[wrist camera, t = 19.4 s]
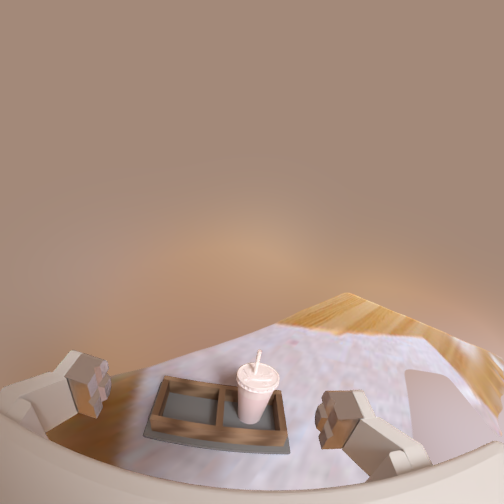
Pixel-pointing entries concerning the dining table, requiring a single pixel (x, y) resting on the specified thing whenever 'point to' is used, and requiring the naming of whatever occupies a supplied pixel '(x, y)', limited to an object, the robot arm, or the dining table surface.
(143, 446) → the dining table surface
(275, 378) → the smoothie
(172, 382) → the tray
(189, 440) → the mat
